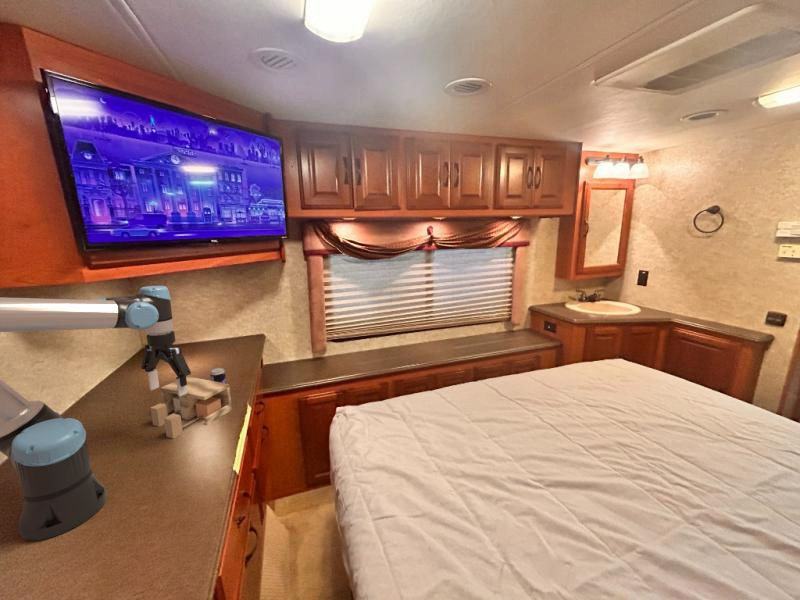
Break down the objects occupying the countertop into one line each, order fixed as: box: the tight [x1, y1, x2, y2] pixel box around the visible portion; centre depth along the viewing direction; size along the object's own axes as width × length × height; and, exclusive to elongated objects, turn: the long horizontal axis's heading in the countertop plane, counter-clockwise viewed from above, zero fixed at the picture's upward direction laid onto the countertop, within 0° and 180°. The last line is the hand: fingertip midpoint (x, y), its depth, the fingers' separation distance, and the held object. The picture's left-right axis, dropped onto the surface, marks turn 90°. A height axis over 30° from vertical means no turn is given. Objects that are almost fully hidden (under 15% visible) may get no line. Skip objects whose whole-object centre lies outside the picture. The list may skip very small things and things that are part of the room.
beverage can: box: [209, 367, 227, 384], centre depth 140 cm, size 6×6×12 cm
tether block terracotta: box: [164, 397, 221, 439], centre depth 119 cm, size 19×6×7 cm, turn 161°
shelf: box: [160, 375, 233, 425], centre depth 126 cm, size 11×23×11 cm, turn 71°
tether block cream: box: [150, 396, 181, 427], centre depth 124 cm, size 15×6×7 cm, turn 161°
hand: (168, 391), depth 109 cm, fingers open, 13 cm apart
